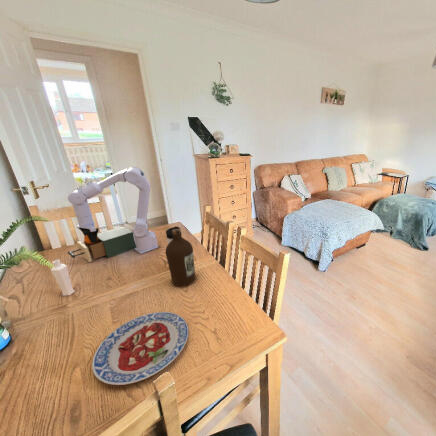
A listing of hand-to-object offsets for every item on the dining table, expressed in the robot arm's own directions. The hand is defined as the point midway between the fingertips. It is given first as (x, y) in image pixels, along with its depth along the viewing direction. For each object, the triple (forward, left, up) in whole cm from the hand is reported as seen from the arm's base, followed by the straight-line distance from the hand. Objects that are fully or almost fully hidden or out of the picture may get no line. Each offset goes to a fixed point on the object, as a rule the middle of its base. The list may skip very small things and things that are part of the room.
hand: (92, 240), depth 118 cm
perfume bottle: (+17, +23, -9) cm, 30 cm away
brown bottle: (-16, +52, -9) cm, 55 cm away
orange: (0, 0, -1) cm, 1 cm away
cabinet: (-10, 0, -9) cm, 13 cm away
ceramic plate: (+11, +73, -9) cm, 74 cm away
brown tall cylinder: (-21, +40, -9) cm, 46 cm away
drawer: (+1, 0, -8) cm, 8 cm away
